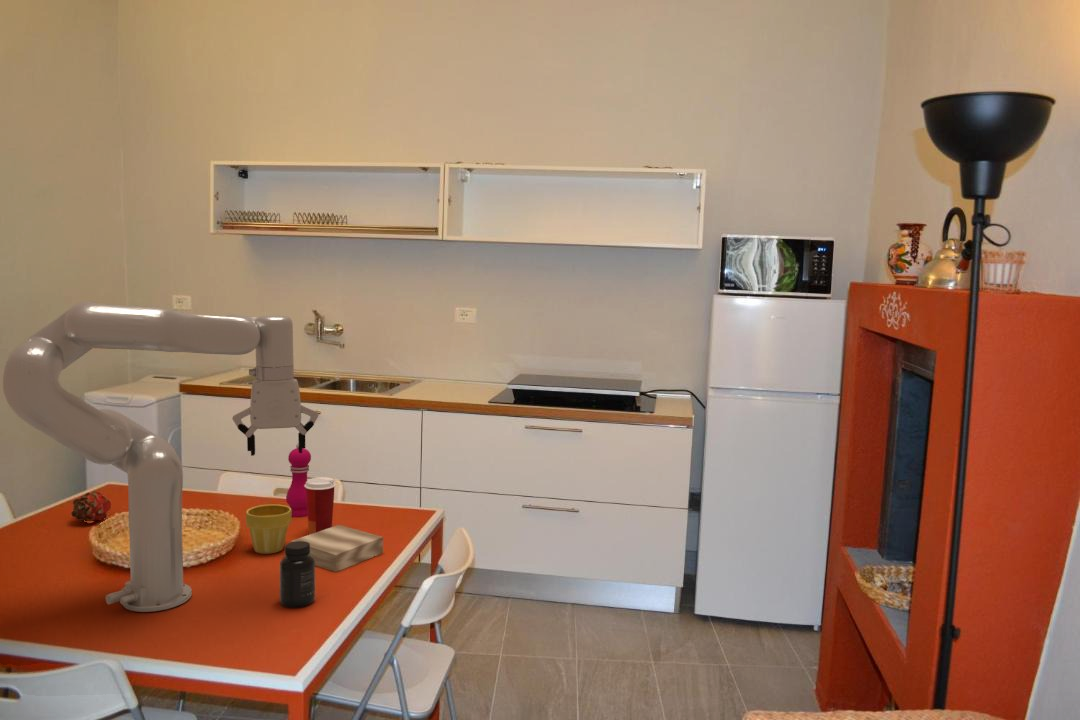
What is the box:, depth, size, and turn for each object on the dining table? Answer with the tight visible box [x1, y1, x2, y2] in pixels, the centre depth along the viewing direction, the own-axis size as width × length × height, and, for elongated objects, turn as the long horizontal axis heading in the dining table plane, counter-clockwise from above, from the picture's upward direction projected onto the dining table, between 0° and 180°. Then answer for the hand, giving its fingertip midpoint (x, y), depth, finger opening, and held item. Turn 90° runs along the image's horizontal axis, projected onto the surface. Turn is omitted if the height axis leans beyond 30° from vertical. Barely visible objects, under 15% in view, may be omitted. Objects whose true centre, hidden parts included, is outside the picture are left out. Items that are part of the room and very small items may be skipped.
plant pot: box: [245, 503, 293, 555], centre depth 186 cm, size 10×10×10 cm
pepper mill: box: [285, 442, 312, 518], centre depth 213 cm, size 7×7×20 cm
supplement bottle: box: [279, 541, 316, 609], centre depth 157 cm, size 7×7×12 cm
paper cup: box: [304, 476, 337, 535], centre depth 198 cm, size 8×8×14 cm
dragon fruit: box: [71, 490, 112, 521], centre depth 202 cm, size 8×8×12 cm
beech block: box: [290, 524, 384, 573], centre depth 184 cm, size 15×15×4 cm
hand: (277, 453), depth 165 cm, fingers open, 9 cm apart
